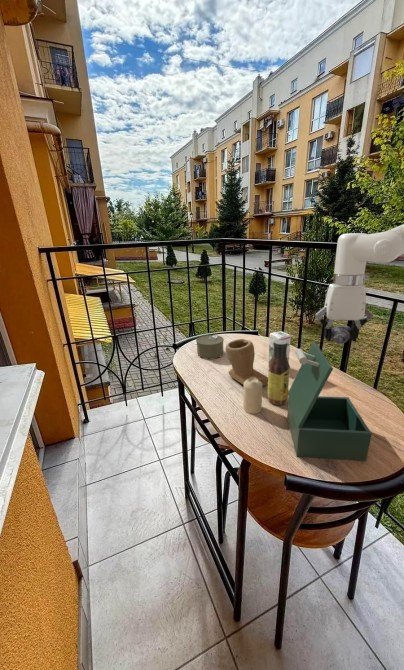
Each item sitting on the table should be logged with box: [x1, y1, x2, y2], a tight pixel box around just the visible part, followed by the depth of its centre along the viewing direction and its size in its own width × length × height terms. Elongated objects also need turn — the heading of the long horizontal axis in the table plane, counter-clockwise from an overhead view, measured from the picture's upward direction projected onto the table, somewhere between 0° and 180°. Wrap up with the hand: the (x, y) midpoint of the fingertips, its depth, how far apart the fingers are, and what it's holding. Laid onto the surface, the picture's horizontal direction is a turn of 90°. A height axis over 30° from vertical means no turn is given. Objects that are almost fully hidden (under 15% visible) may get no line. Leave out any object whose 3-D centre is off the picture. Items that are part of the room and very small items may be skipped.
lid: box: [288, 341, 334, 429], centre depth 68 cm, size 16×15×5 cm
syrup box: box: [267, 330, 292, 368], centre depth 107 cm, size 6×6×14 cm
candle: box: [242, 377, 263, 414], centre depth 84 cm, size 6×6×10 cm
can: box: [195, 334, 224, 359], centre depth 124 cm, size 12×12×7 cm
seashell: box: [331, 325, 351, 345], centre depth 84 cm, size 5×5×10 cm
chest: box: [286, 395, 372, 462], centre depth 71 cm, size 16×15×8 cm
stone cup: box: [225, 338, 268, 387], centre depth 99 cm, size 15×12×15 cm
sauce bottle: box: [267, 340, 291, 406], centre depth 86 cm, size 7×6×20 cm
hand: (340, 339), depth 84 cm, fingers closed on seashell, 6 cm apart
